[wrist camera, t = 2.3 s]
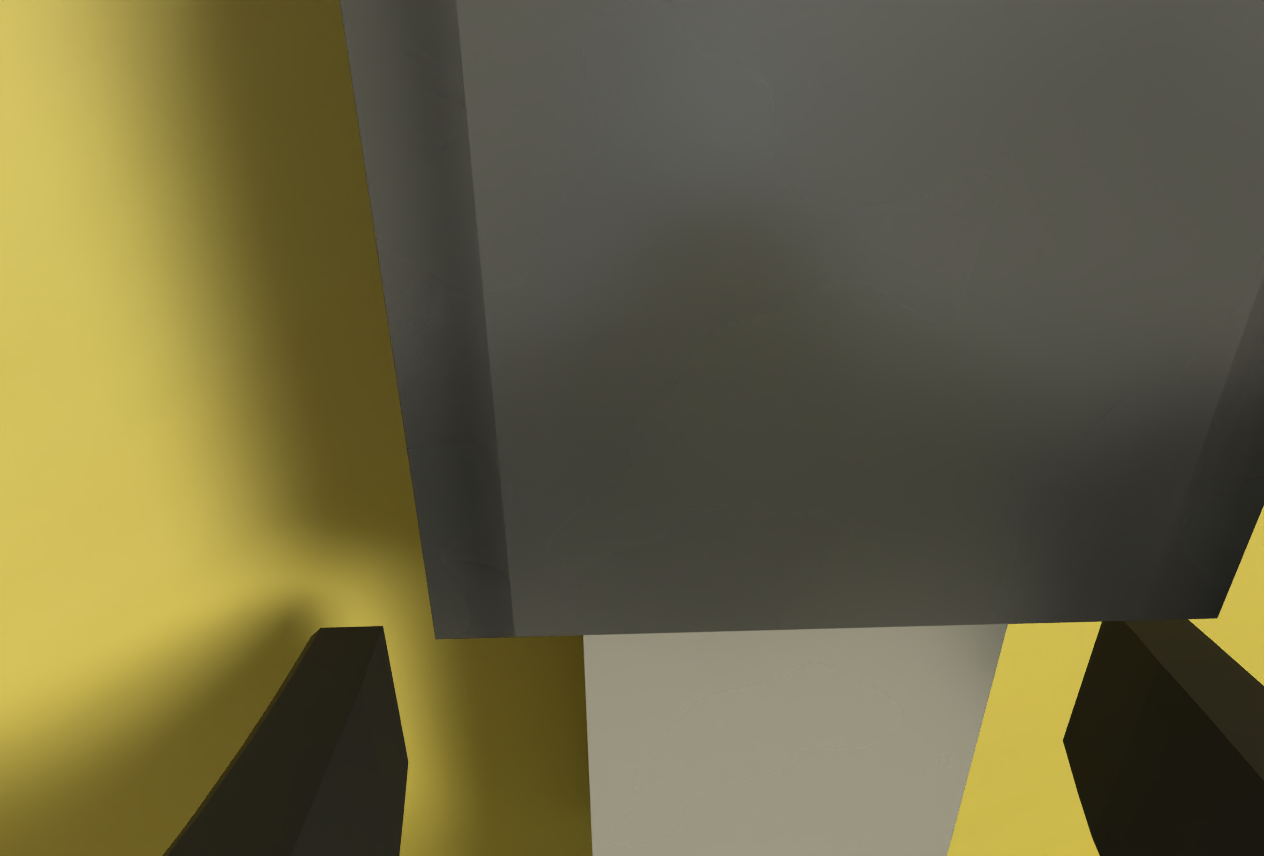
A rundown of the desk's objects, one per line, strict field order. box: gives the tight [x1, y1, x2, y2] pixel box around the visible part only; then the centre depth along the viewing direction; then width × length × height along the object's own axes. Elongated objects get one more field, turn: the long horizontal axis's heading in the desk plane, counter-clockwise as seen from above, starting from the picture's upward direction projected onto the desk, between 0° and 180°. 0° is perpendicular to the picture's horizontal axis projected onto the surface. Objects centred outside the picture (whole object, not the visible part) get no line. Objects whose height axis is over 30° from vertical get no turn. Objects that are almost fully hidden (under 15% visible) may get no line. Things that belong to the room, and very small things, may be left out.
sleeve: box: [340, 0, 1264, 639], centre depth 7 cm, size 5×6×5 cm
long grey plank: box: [583, 624, 1008, 856], centre depth 10 cm, size 3×14×3 cm, turn 0°
